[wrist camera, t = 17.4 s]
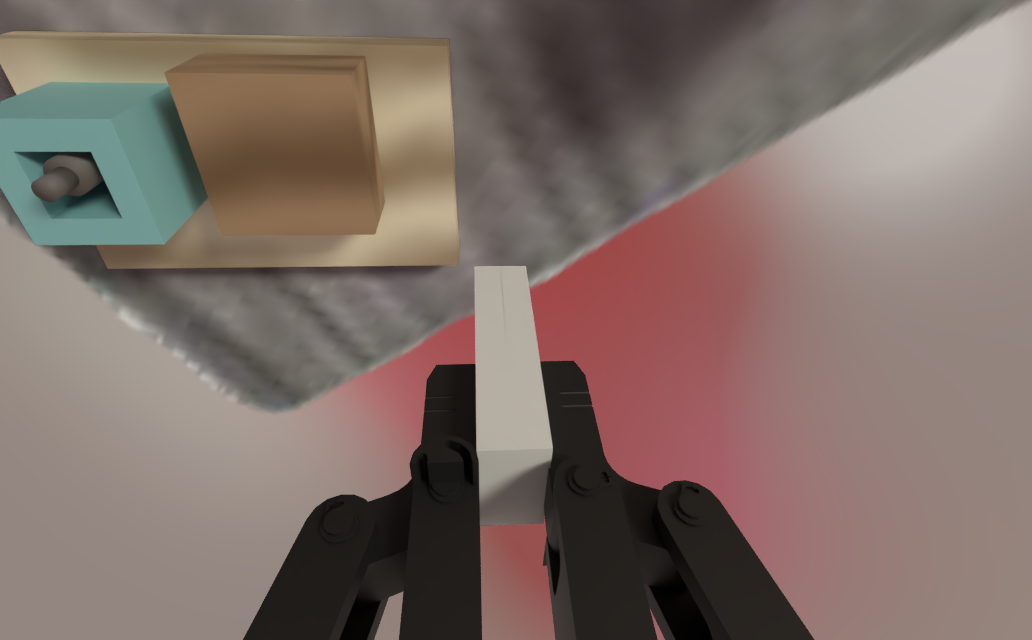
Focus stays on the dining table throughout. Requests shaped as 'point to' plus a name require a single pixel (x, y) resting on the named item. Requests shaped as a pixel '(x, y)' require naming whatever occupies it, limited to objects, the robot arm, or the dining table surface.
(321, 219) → the block
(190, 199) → the teal hollow cube
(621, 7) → the dining table surface
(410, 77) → the base board
